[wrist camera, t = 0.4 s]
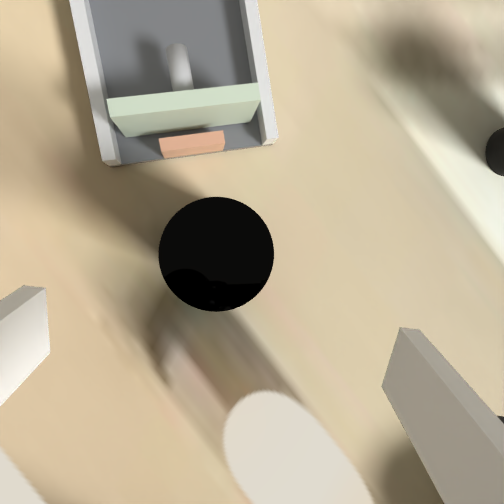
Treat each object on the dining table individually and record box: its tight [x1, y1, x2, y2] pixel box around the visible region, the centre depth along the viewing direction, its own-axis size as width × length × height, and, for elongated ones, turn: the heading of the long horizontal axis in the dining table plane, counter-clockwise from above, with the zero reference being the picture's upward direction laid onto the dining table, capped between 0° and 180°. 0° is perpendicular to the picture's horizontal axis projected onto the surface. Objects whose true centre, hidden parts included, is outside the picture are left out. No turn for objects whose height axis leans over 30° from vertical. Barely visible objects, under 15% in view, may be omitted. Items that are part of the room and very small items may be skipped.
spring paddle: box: [106, 44, 261, 137], centre depth 25 cm, size 5×10×5 cm, turn 100°
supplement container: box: [159, 197, 274, 312], centre depth 25 cm, size 7×7×10 cm
